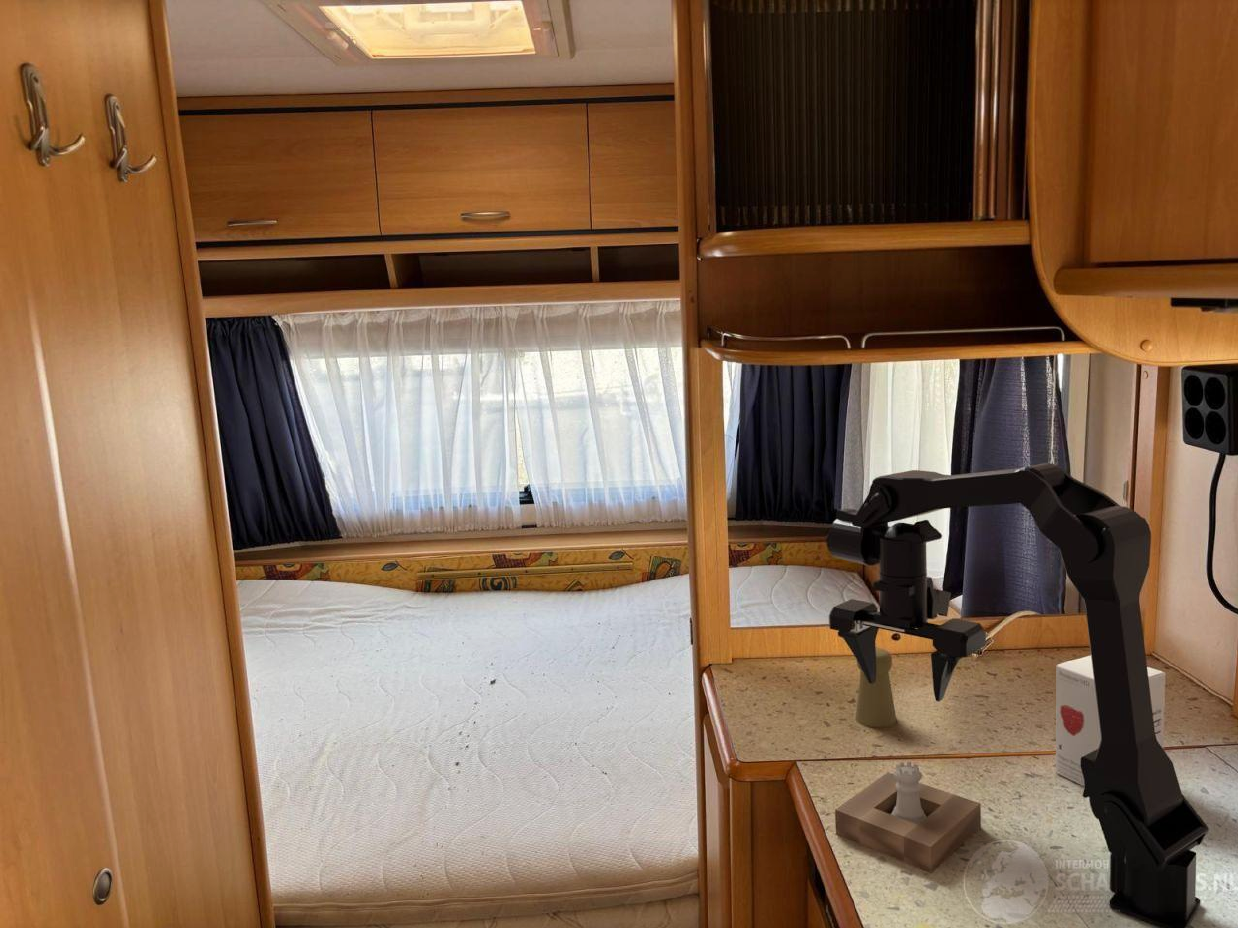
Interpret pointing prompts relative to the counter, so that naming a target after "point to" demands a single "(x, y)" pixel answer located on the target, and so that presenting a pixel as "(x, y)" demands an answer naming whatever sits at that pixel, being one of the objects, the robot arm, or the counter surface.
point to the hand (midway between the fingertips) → (904, 691)
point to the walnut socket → (908, 823)
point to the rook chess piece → (908, 793)
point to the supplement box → (1090, 714)
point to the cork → (876, 695)
